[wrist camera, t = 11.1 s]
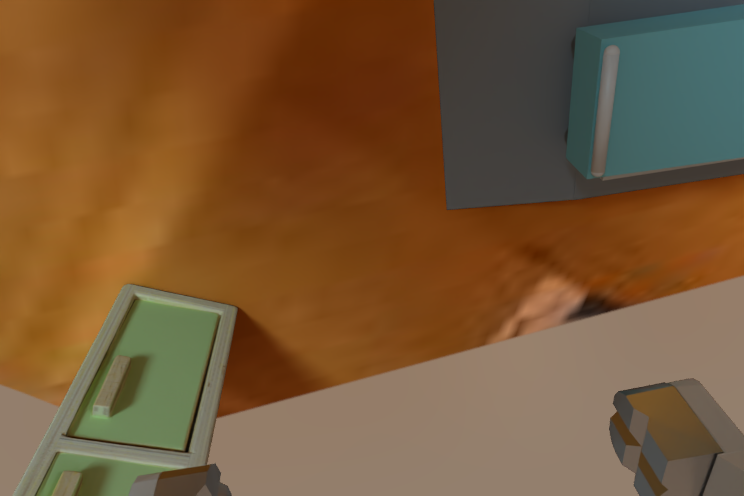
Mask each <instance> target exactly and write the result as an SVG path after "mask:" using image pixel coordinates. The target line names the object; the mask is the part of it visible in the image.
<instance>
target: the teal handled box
mask: <svg viewBox="0 0 744 496" xmlns="http://www.w3.org/2000/svg"><path fill="white" fill-rule="evenodd" d="M571 48H572V51H573V53H574V64H573V76H572V89H571V101H570V113H569V126H568V129H567V130H566V131H565V134H564V140H565V142H566V144H567V150H566V158H567V159H568V160H569V161H570V163H571V164H572V165H573V166H574V167H575V168H576V169H577V170H578V171H579V172H580V173H581V174H582V175H583V176H584V177H585V178H586V179H592V178H600V177H607V176H614V175H621V174H628V173H635V172H643V171H650V170H657V169H664V168H671V167H678V166H685V165H693V164H700V163H707V162H714V161H721V160H728V159H735V158H743V157H744V4H741V5H734V6H727V7H720V8H713V9H706V10H699V11H692V12H685V13H678V14H671V15H664V16H657V17H650V18H643V19H636V20H629V21H622V22H614V23H607V24H600V25H593V26H586V27H579V28H576V35H575V36H574V38H573V40H572V43H571Z"/></svg>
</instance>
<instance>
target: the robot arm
mask: <svg viewBox="0 0 744 496" xmlns="http://www.w3.org/2000/svg"><path fill="white" fill-rule="evenodd" d="M613 404H614V406H615V408H616V410H617V412H616V413H615V414H614V415H613V416H612V417H611V418H610V427H609V430H610V436H611V440H612V444H613V447H614V449H615V452H616V454H617V456H618V458H619V459H620V461H621V463H622V465H624V466H625V467H627V468H628V469H630V470H631V471H633V472H634V473H636V475H635V481H634V487H635V488H636V490H637V492H638V494H639V496H744V435H743V434H742V433H741V431H740V430H739V429H738V428H737V427H736V425H735V424H734V423H733V422H732V420H731V419H730V418H729V417H728V416H727V415H726V413H725V412H724V411H723V410H722V409H721V407H720V406H719V405H718V404H717V403H716V401H715V400H714V399H713V397H712V396H711V395H710V394H709V393H708V391H707V390H706V389H705V388H704V387H703V385H702V384H701V383H700V382H699V381H697V380H695V379H693V378H692V379H685V380H679V381H674V382H670V383H659V384H654V385H649V386H644V387H639V388H633V389H628V390H623V391H618V392H617V393H616V394H615V396H614V401H613ZM220 475H221V473H220V471H219V469H218V467H217V466H216V464H209V465H203V466H196V467H190V468H184V469H177V470H171V471H163V472H158V473H152V474H146V475H140V476H138V477H137V478H136V480H135V481H134V483H133V484H132V486H131V489H130V492H129V496H232V495H231V492H230V490H229V488H228V486H227V485H225V484H223V483H220Z"/></svg>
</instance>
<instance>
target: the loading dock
mask: <svg viewBox="0 0 744 496" xmlns="http://www.w3.org/2000/svg"><path fill="white" fill-rule="evenodd" d="M741 4H744V0H434V12H435V28H436V44H437V60H438V76H439V92H440V108H441V124H442V140H443V156H444V172H445V188H446V204H447V210H451V209H464V208H476V207H488V206H501V205H513V204H526V203H538V202H550V201H563V200H577V199H583V198H590V197H596V196H603V195H609V194H616V193H622V192H629V191H635V190H642V189H648V188H655V187H661V186H668V185H674V184H681V183H687V182H694V181H700V180H707V179H713V178H720V177H726V176H733V175H739V174H744V157H743V158H735V159H728V160H721V161H714V162H707V163H700V164H693V165H685V166H678V167H671V168H664V169H657V170H650V171H643V172H635V173H628V174H621V175H614V176H607V177H600V178H592V179H586V178H585V177H584V176H583V175H582V174H581V173H580V172H579V171H578V170H577V169H576V168H575V167H574V166H573V165H572V164H571V163H570V161H569V160H568V159H567V158H566V150H567V144H566V142H565V140H564V134H565V131H566V130H567V129H568V126H569V113H570V101H571V89H572V76H573V64H574V53H573V51H572V48H571V43H572V40H573V38H574V36H575V35H576V28H579V27H586V26H593V25H600V24H607V23H614V22H622V21H629V20H636V19H643V18H650V17H657V16H664V15H671V14H678V13H685V12H692V11H699V10H706V9H713V8H720V7H727V6H734V5H741Z"/></svg>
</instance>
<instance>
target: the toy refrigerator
mask: <svg viewBox="0 0 744 496" xmlns="http://www.w3.org/2000/svg"><path fill="white" fill-rule="evenodd" d="M237 311H238V308H237V307H235V306H231V305H227V304H222V303H217V302H213V301H208V300H203V299H198V298H193V297H189V296H184V295H179V294H174V293H169V292H165V291H160V290H155V289H151V288H146V287H142V286H137V285H132V284H127V285H124V286H123V287H122V289H121V291H120V293H119V295H118V297H117V299H116V301H115V302H114V304H113V306H112V308H111V310H110V312H109V314H108V316H107V318H106V320H105V322H104V324H103V326H102V328H101V330H100V332H99V333H98V335H97V337H96V339H95V341H94V343H93V344H92V346H91V348H90V350H89V352H88V354H87V356H86V358H85V360H84V362H83V364H82V366H81V367H80V369H79V371H78V373H77V375H76V377H75V379H74V380H73V382H72V384H71V386H70V388H69V390H68V392H67V394H66V396H65V398H64V400H63V402H62V404H61V405H60V407H59V409H58V411H57V413H56V415H55V417H54V419H53V421H52V423H51V424H50V426H49V428H48V430H47V432H46V434H45V436H44V438H43V439H42V441H41V443H40V445H39V447H38V449H37V450H36V452H35V454H34V456H33V458H32V460H31V462H30V464H29V465H28V467H27V469H26V471H25V473H24V475H23V477H22V479H21V481H20V482H19V484H18V486H17V488H16V490H15V492H14V494H13V496H129V492H130V489H131V486H132V484H133V483H134V481H135V480H136V478H137V477H138V476H140V475H146V474H152V473H158V472H163V471H171V470H177V469H184V468H190V467H196V466H203V465H207V462H208V457H209V452H210V447H211V442H212V437H213V432H214V427H215V422H216V417H217V412H218V408H219V403H220V398H221V393H222V388H223V383H224V378H225V373H226V367H227V362H228V357H229V352H230V347H231V342H232V337H233V332H234V326H235V321H236V316H237Z"/></svg>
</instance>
